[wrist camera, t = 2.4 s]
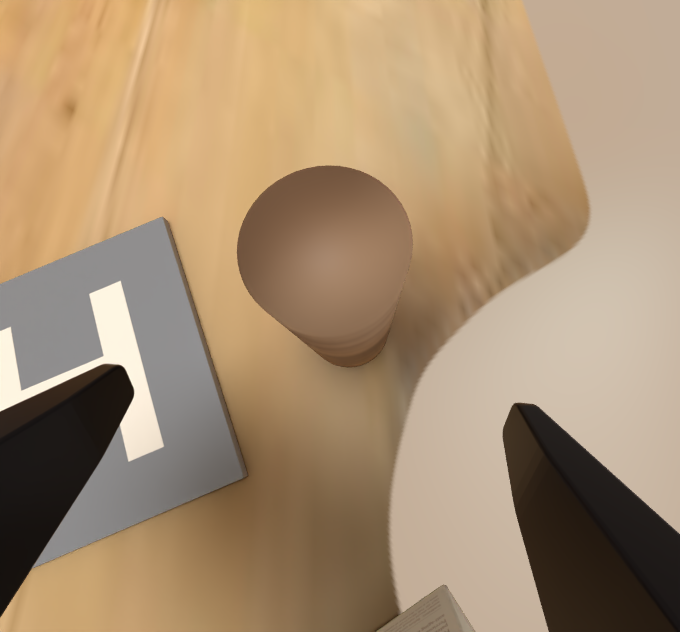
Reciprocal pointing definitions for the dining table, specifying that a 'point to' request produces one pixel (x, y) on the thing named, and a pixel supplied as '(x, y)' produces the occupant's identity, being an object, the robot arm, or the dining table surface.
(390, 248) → the walnut pillar
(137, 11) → the dining table surface
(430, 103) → the dining table surface
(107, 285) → the letter board
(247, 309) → the dining table surface
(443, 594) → the supplement box
